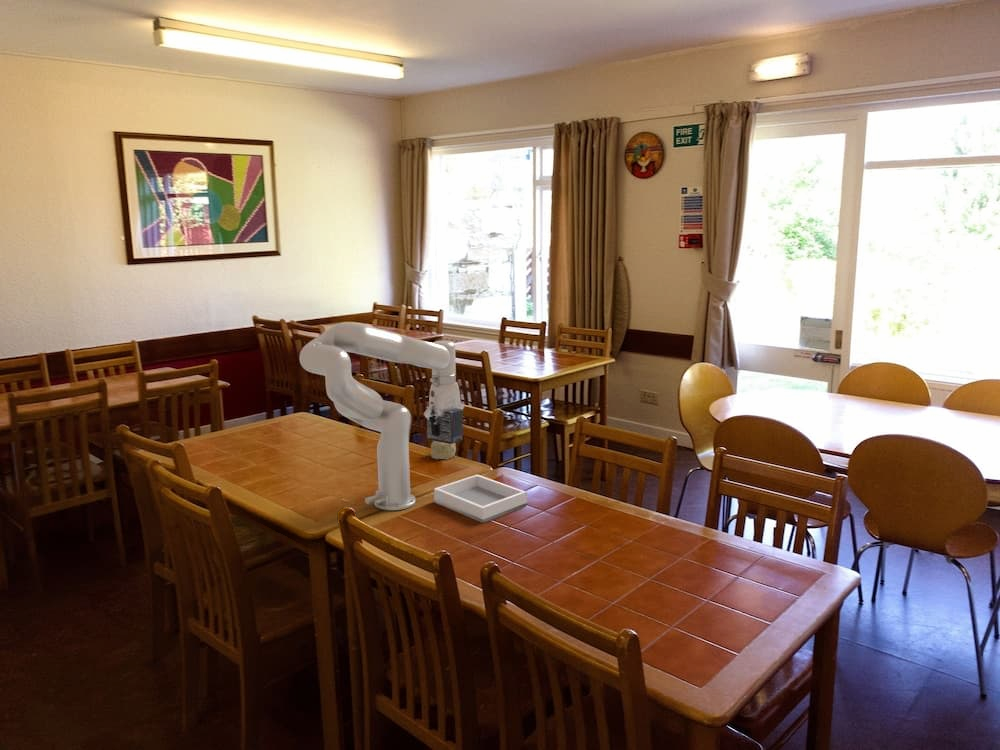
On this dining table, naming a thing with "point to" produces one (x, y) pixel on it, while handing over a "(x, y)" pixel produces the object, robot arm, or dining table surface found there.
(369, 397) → the robot arm
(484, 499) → the bin
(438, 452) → the decorative object
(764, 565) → the dining table surface
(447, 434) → the small box
